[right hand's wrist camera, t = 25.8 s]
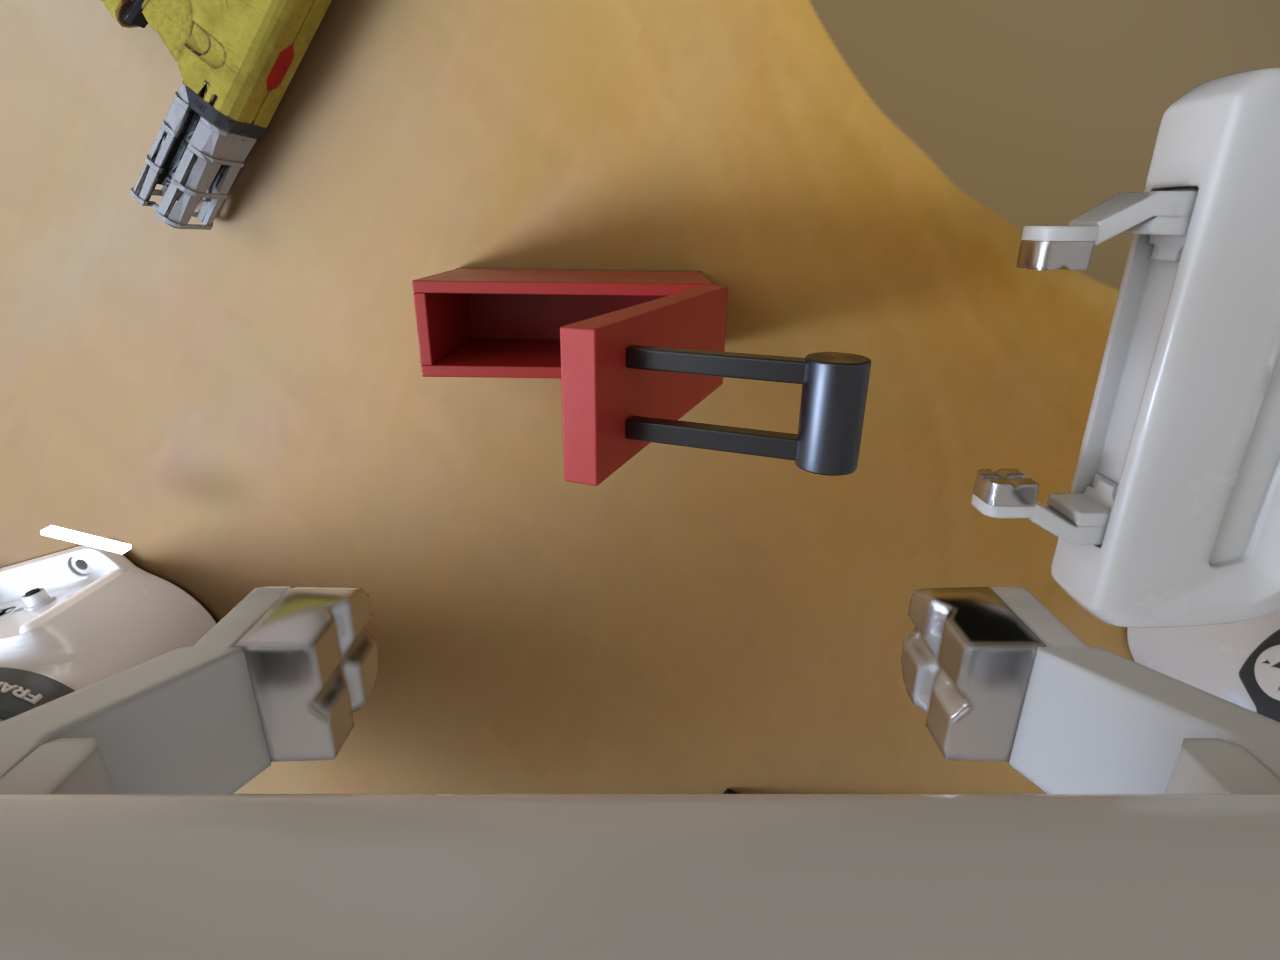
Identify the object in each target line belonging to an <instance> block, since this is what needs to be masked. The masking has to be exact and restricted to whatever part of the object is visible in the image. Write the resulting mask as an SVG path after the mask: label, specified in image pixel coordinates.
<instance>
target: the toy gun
mask: <svg viewBox="0 0 1280 960" xmlns="http://www.w3.org/2000/svg"><path fill="white" fill-rule="evenodd" d="M101 1H103V2H104V4H105V6H106V7H107V9H108V10H109V12H110V14H111V15H112V16H113V17H114V18H115V19H116V20H117V22H118V23H119V24H120V25H121V26H122V27H128V28H132V27H142V28H145V26H146V25H147V24H149V25H150V26H151V27H152V28H153V29H154V30H156V31H157V32H158V33H159V35H160V36H161V38H162V40H163V41H164V43H165V44H166V46H167V47H168V49H169V51H170V52H171V54H172V55H173V57H174V58H175V60H176V61H178V65H179V68H180V71H181V74H182V77H183V81H182V83H181V85H180V87H179V89H178V91H177V92H175V94H174V102H173V104H172V106H171V108H170V110H169V112H168V114H167V115H166V117H165V119H164V120H162V122H161V125H162V127H161V129H160V131H159V133H158V136H157V138H156V140H155V142H154V144H153V146H152V148H151V151H150V153H149V154H148V155H147V156H146V159H145V162H146V165H145V167H144V168H143V170H142V172H141V174H140V176H139V178H138V180H137V182H136V184H135V186H134V187H133V188H132V189H131V190H130V193H129V194H130V195H131V196H132V198H133V199H135V200H136V201H137V202H138V203H140V204H141V205H142V206H153V207H154V208H155V209H156V210H157V211H156V212H155V214H154V215H155V216H157V217H158V218H159V219H160V220H162V221H163V222H164V223H166V224H168V225H170V226H172V227H174V228H178V229H207V230H210V229H211V228H212V226H213V221H214V219H215V217H216V215H217V213H218V211H219V209H220V207H221V205H222V204H223V202H224V200H225V199H227V197H228V191H229V190H230V188H231V186H232V184H233V182H234V180H235V178H236V176H237V174H238V172H239V171H240V169H241V167H243V166H244V164H245V162H244V160H245V159H246V157H247V155H248V154H249V152H250V150H251V149H252V147H253V145H254V144H255V142H256V140H257V139H262V137H263V135H264V133H265V131H266V128H267V126H268V124H269V122H270V121H271V119H272V117H273V115H274V113H275V111H276V109H277V107H278V105H279V103H280V101H281V99H282V97H283V95H284V93H285V91H286V89H287V87H288V85H289V83H290V81H291V79H292V78H293V76H294V74H295V72H296V70H297V68H298V66H299V64H300V62H301V60H302V58H303V56H304V54H305V52H306V50H307V48H308V46H309V44H310V42H311V40H312V38H313V36H314V34H315V33H316V31H317V29H318V27H319V25H320V23H321V21H322V19H323V17H324V15H325V13H326V11H327V9H328V7H329V5H330V3H331V1H332V0H101ZM156 184H161V185H163V188H162V190H155V189H154V188H155V186H156ZM151 195H158V196H163V199H162V201H161V203H160V205H158V204H156V203H155V202H153V201H149V199H150V197H151ZM201 198H202V199H203V200H204V202H203V204H202V206H201V208H200V210H199V212H198V213H196V212H194V210H195V209H196V207H197V205H198V203H199V201H200V199H201ZM176 200H177V201H178V202H177V203H176V205H175V206H174V204H175V202H176ZM173 206H174V208H173ZM172 208H173V209H172ZM171 210H172V211H171ZM191 216H194V217H197V218H198V219H199V220H200V221H202V222H203V223H202V225H191V224H188V222H189V220H190V218H191Z"/></svg>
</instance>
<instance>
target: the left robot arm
mask: <svg viewBox="0 0 1280 960" xmlns="http://www.w3.org/2000/svg"><path fill="white" fill-rule="evenodd" d="M1118 234H1133V237H1132V241H1131V245H1130V249H1129V253H1128V258H1127V262H1126V266H1125V270H1124V274H1123V278H1122V282H1121V286H1120V290H1119V294H1118V298H1117V302H1116V307H1115V311H1114V315H1113V319H1112V323H1111V327H1110V331H1109V335H1108V339H1107V343H1106V347H1105V351H1104V355H1103V359H1102V363H1101V367H1100V371H1099V375H1098V380H1097V384H1096V388H1095V392H1094V396H1093V400H1092V404H1091V408H1090V412H1089V416H1088V420H1087V424H1086V428H1085V433H1084V437H1083V441H1082V445H1081V449H1080V453H1079V457H1078V461H1077V465H1076V469H1075V473H1074V477H1073V481H1072V485H1071V489H1070V493H1052V494H1051V495H1049V498H1048V502H1047V504H1048V505H1049V506H1044V505H1043V504H1041V503H1039V502H1038V501H1036V498H1037V493H1038V488H1039V484H1038V483H1036V482H1035V481H1033V480H1032V479H1030V478H1025V475H1024V474H1023V473H1021V472H1020V471H1018V470H1016V469H999V470H997V471H996V472H993V471H991V470H990V469H981V470H978V472H977V477H976V481H975V486H974V490H973V495H972V501H971V504H972V505H973V506H974V507H975V508H976V509H977V510H979V511H980V512H981V513H982V514H983V515H986V516H989V517H994V518H1028V519H1030V520H1031V521H1032V522H1034V523H1036V524H1037V525H1039V526H1041V527H1042V528H1044V529H1046V530H1047V531H1049V532H1051V533H1052V534H1054V535H1056V536H1057V537H1059V538H1058V542H1057V546H1056V550H1055V554H1054V558H1053V562H1052V566H1051V574H1052V577H1053V579H1054V580H1055V581H1056V582H1057V583H1058V584H1059V585H1060V586H1061V587H1062V588H1063V590H1064V591H1065V592H1066V593H1067V594H1068V595H1069V596H1070V597H1071V598H1072V599H1074V600H1075V601H1076V602H1077V603H1078V604H1079V605H1080V606H1082V607H1083V608H1084V609H1085V610H1087V611H1088V612H1089V613H1090V614H1092V615H1093V616H1095V617H1096V618H1098V619H1099V620H1101V621H1103V622H1105V623H1108V624H1111V625H1114V626H1120V627H1127V640H1128V646H1129V649H1130V652H1131V654H1132V657H1133V659H1134V662H1136V663H1139V664H1141V665H1143V666H1146V667H1148V668H1151V669H1153V670H1155V671H1158V672H1160V673H1163V674H1165V675H1167V676H1170V677H1172V678H1174V679H1177V680H1179V681H1182V682H1184V683H1186V684H1189V685H1191V686H1194V687H1196V688H1198V689H1201V690H1203V691H1206V692H1208V693H1210V694H1213V695H1215V696H1217V697H1220V698H1222V699H1225V700H1227V701H1229V702H1232V703H1234V704H1237V705H1239V706H1241V707H1244V708H1246V709H1249V710H1251V711H1253V712H1256V713H1258V714H1260V715H1263V716H1265V717H1268V718H1270V719H1272V720H1275V721H1277V722H1280V67H1272V68H1264V69H1257V70H1251V71H1246V72H1241V73H1237V74H1232V75H1228V76H1224V77H1220V78H1217V79H1213V80H1210V81H1207V82H1204V83H1202V84H1200V85H1198V86H1196V87H1195V88H1193V89H1192V90H1190V91H1189V92H1188V93H1186V94H1185V95H1184V96H1182V97H1181V98H1180V99H1178V100H1177V101H1175V102H1174V103H1173V104H1172V105H1170V106H1169V107H1168V108H1167V110H1166V111H1165V113H1164V115H1163V117H1162V120H1161V123H1160V127H1159V131H1158V135H1157V140H1156V144H1155V148H1154V152H1153V156H1152V160H1151V164H1150V168H1149V172H1148V176H1147V180H1146V184H1145V188H1144V192H1133V193H1119V194H1117V195H1115V196H1113V197H1112V198H1110V199H1108V200H1106V201H1105V202H1103V203H1101V204H1099V205H1098V206H1096V207H1094V208H1092V209H1090V210H1089V211H1087V212H1085V213H1083V214H1082V215H1080V216H1078V217H1076V218H1075V219H1073V220H1071V221H1070V222H1069V224H1068V225H1028V226H1024V230H1023V235H1022V240H1021V245H1020V251H1019V256H1018V261H1017V266H1016V267H1018V268H1027V269H1034V270H1057V269H1063V270H1088V267H1089V264H1090V260H1091V256H1092V252H1093V248H1094V246H1096V245H1098V244H1100V243H1102V242H1104V241H1106V240H1108V239H1110V238H1112V237H1114V236H1116V235H1118Z"/></svg>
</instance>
